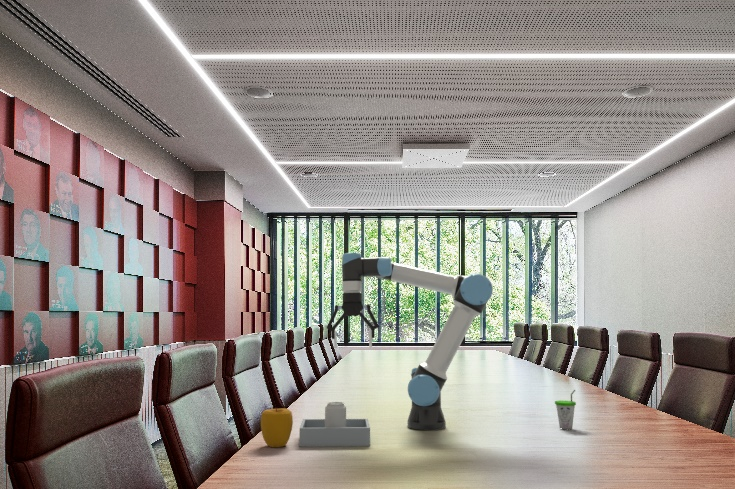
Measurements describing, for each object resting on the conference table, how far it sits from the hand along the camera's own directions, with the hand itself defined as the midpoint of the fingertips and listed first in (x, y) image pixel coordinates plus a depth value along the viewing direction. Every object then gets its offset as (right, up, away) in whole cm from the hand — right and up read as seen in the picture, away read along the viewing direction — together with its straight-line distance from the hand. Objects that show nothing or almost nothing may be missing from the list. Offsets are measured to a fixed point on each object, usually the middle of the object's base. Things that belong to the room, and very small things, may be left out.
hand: (353, 347), depth 239 cm
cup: (+83, -32, +2) cm, 89 cm away
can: (-6, -29, -21) cm, 36 cm away
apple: (-25, -29, -29) cm, 48 cm away
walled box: (-6, -30, -21) cm, 37 cm away
